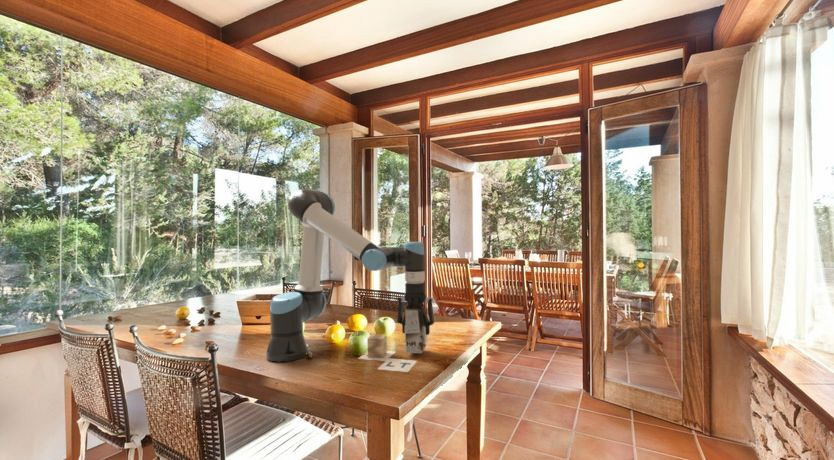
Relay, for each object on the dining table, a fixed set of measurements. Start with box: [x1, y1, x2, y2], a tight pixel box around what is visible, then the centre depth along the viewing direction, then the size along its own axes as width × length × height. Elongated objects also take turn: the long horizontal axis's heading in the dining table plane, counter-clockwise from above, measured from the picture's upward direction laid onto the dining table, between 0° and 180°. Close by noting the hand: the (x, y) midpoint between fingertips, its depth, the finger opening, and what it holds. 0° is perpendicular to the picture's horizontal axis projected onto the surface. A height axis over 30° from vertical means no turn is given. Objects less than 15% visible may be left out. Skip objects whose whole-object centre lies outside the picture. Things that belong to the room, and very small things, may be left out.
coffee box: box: [404, 305, 427, 354], centre depth 141 cm, size 9×6×16 cm
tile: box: [377, 357, 418, 373], centre depth 130 cm, size 11×11×1 cm
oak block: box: [366, 333, 388, 358], centre depth 141 cm, size 6×6×7 cm
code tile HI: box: [357, 350, 397, 362], centre depth 141 cm, size 11×11×1 cm
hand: (416, 342), depth 142 cm, fingers closed on coffee box, 7 cm apart
